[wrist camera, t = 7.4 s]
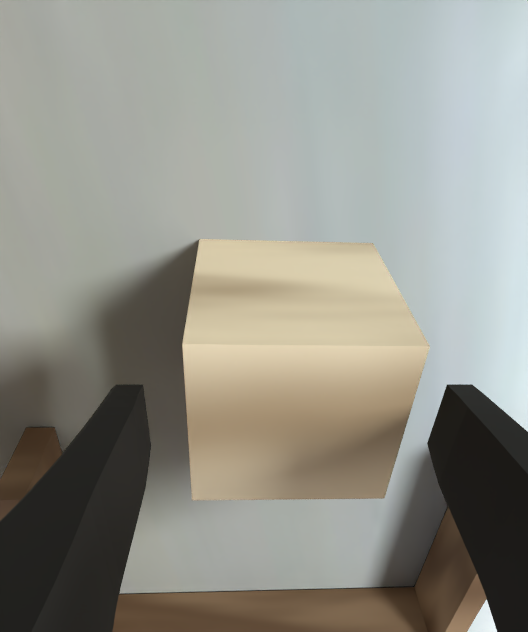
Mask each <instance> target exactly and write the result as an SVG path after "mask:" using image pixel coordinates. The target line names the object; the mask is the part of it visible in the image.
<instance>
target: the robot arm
mask: <svg viewBox="0 0 528 632" xmlns="http://www.w3.org/2000/svg"><path fill="white" fill-rule="evenodd" d="M427 444H428V448H429V451H430V455H431V459H432V463H433V466H434V470H435V473H436V476H437V479H438V483H439V485H440V488H441V490H442V493H443V495H444V498H445V500H446V502H447V505H448V507H449V509H450V512H451V514H452V516H453V519H454V521H455V523H456V526H457V528H458V530H459V533H460V535H461V537H462V540H463V542H464V544H465V547H466V549H467V551H468V553H469V556H470V558H471V560H472V563H473V565H474V567H475V570H476V572H477V574H478V577H479V579H480V582H481V585H482V587H483V590H484V592H485V595H486V598H487V601H488V604H489V607H490V610H491V613H492V616H493V620H494V623H495V626H496V629H497V632H528V432H527V431H526V430H525V429H524V428H522V427H521V426H520V425H519V424H518V423H517V422H516V421H514V420H513V419H512V418H511V417H510V416H509V415H507V414H506V413H505V412H504V411H503V410H502V409H500V408H499V407H498V406H497V405H496V404H495V403H494V402H492V401H491V400H490V399H489V398H488V397H486V396H485V395H484V394H483V393H482V392H481V391H479V390H478V389H477V388H476V387H474V386H473V385H447V387H446V390H445V393H444V396H443V399H442V402H441V405H440V408H439V411H438V414H437V417H436V419H435V422H434V425H433V428H432V431H431V434H430V437H429V440H428V443H427ZM150 450H151V442H150V434H149V427H148V419H147V412H146V404H145V397H144V389H143V385H115V386H114V387H113V388H112V389H111V390H110V392H109V393H108V395H107V396H106V397H105V399H104V400H103V402H102V403H101V404H100V406H99V407H98V409H97V410H96V411H95V413H94V414H93V415H92V417H91V418H90V419H89V421H88V422H87V423H86V425H85V426H84V427H83V429H82V430H81V431H80V432H79V434H78V435H77V436H76V437H75V439H74V440H73V441H72V442H71V443H70V445H69V446H68V447H67V448H66V450H65V451H64V452H63V453H62V455H61V456H60V457H59V458H58V459H57V460H56V462H55V463H54V464H53V465H52V466H51V467H50V468H49V470H48V471H47V472H46V473H45V474H44V475H43V476H42V477H41V478H40V480H39V481H38V482H37V483H36V484H35V485H34V486H33V487H32V489H31V490H30V491H29V492H28V493H27V494H26V495H25V496H24V497H23V498H22V499H21V500H20V501H19V502H18V503H17V504H16V505H15V506H14V507H13V508H12V509H11V510H10V511H9V512H8V513H7V514H6V515H5V516H4V517H3V518H2V519H1V520H0V632H112V631H113V625H114V619H115V612H116V606H117V601H118V597H119V592H120V587H121V583H122V579H123V575H124V571H125V567H126V563H127V559H128V555H129V551H130V547H131V543H132V539H133V535H134V531H135V527H136V523H137V519H138V515H139V511H140V507H141V503H142V499H143V495H144V491H145V487H146V480H147V473H148V465H149V457H150Z"/></svg>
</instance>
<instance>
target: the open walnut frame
mask: <svg viewBox="0 0 528 632" xmlns="http://www.w3.org/2000/svg"><path fill="white" fill-rule="evenodd" d="M61 455H62V451H61V448H60V445H59V441H58V438H57V434H56V431H55V428H26V429H25V431H24V433H23V435H22V437H21V439H20V441H19V443H18V445H17V447H16V449H15V451H14V453H13V455H12V457H11V459H10V461H9V463H8V465H7V467H6V469H5V471H4V473H3V475H2V477H1V479H0V520H1V519H2V518H3V517H4V516H5V515H6V514H7V513H8V512H9V511H10V510H11V509H12V508H13V507H14V506H15V505H16V504H17V503H18V502H19V501H20V500H21V499H22V498H23V497H24V496H25V495H26V494H27V493H28V492H29V491H30V490H31V489H32V487H33V486H34V485H35V484H36V483H37V482H38V481H39V480H40V478H41V477H42V476H43V475H44V474H45V473H46V472H47V471H48V470H49V468H50V467H51V466H52V465H53V464H54V463H55V462H56V460H57V459H58V458H59V457H60V456H61ZM486 599H487V598H486V595H485V592H484V590H483V587H482V585H481V582H480V579H479V577H478V574H477V572H476V570H475V567H474V565H473V563H472V560H471V558H470V556H469V553H468V551H467V549H466V547H465V544H464V542H463V540H462V537H461V535H460V533H459V530H458V528H457V526H456V523H455V521H454V519H453V516H452V514H451V512H450V509H449V507H448V508H447V510H446V513H445V515H444V518H443V520H442V522H441V525H440V527H439V529H438V532H437V534H436V537H435V539H434V541H433V544H432V546H431V549H430V551H429V553H428V556H427V558H426V561H425V563H424V565H423V568H422V570H421V572H420V575H419V577H418V580H417V582H416V584H415V587H399V588H359V589H319V590H278V591H238V592H197V593H157V594H119V597H118V601H117V606H116V612H115V619H114V625H113V631H112V632H467V631H468V629H469V627H470V626H471V624H472V622H473V621H474V619H475V617H476V616H477V614H478V612H479V611H480V609H481V607H482V605H483V604H484V602H485V600H486Z"/></svg>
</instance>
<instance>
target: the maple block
mask: <svg viewBox="0 0 528 632" xmlns="http://www.w3.org/2000/svg"><path fill="white" fill-rule="evenodd" d="M182 347H183V363H184V379H185V395H186V411H187V427H188V443H189V459H190V475H191V491H192V500H274V499H368V498H384V497H385V494H386V491H387V487H388V484H389V481H390V477H391V474H392V471H393V468H394V464H395V461H396V458H397V454H398V451H399V448H400V444H401V441H402V438H403V434H404V431H405V428H406V424H407V421H408V418H409V414H410V411H411V408H412V404H413V401H414V398H415V394H416V391H417V388H418V384H419V381H420V378H421V374H422V371H423V368H424V364H425V361H426V358H427V354H428V351H429V348H430V346H429V344H428V342H427V340H426V339H425V337H424V335H423V333H422V331H421V330H420V328H419V326H418V324H417V322H416V320H415V319H414V317H413V315H412V313H411V311H410V310H409V308H408V306H407V304H406V302H405V300H404V299H403V297H402V295H401V293H400V291H399V289H398V288H397V286H396V284H395V282H394V280H393V279H392V277H391V275H390V273H389V271H388V269H387V268H386V266H385V264H384V262H383V260H382V259H381V257H380V255H379V253H378V251H377V249H376V248H375V246H374V244H373V243H342V242H299V241H256V240H213V239H199V246H198V252H197V258H196V264H195V270H194V276H193V282H192V288H191V294H190V300H189V306H188V312H187V319H186V325H185V331H184V337H183V343H182Z"/></svg>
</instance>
